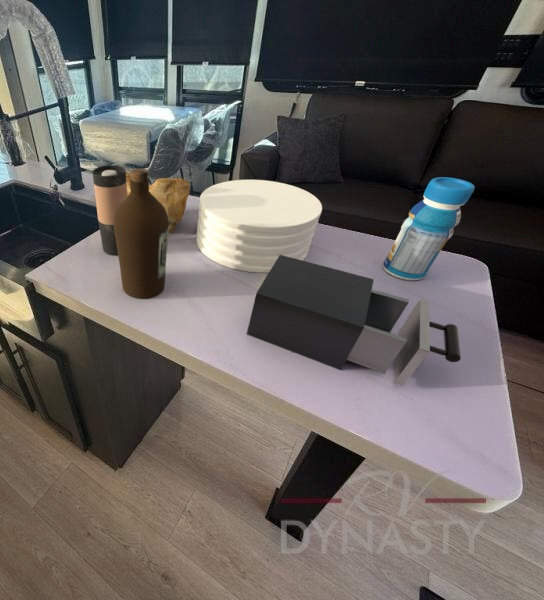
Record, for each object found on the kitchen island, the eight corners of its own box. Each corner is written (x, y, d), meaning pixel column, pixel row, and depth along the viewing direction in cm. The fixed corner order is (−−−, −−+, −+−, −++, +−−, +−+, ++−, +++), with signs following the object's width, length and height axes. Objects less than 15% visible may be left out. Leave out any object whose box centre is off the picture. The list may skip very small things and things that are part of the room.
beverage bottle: (396, 283, 71) (448, 192, 58) (373, 261, 77) (415, 176, 64) (434, 280, 71) (494, 190, 58) (408, 259, 77) (457, 174, 65)
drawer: (435, 344, 56) (463, 310, 51) (437, 399, 48) (470, 364, 43) (317, 307, 64) (330, 274, 59) (302, 348, 56) (316, 314, 51)
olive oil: (115, 299, 69) (102, 181, 54) (124, 271, 78) (115, 161, 62) (165, 302, 68) (167, 182, 52) (169, 273, 76) (171, 162, 60)
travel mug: (136, 245, 87) (132, 168, 74) (120, 259, 82) (112, 178, 69) (113, 238, 90) (105, 163, 77) (96, 251, 85) (84, 173, 72)
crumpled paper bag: (208, 224, 96) (214, 171, 88) (176, 243, 85) (179, 185, 77) (146, 208, 108) (146, 160, 100) (111, 223, 97) (108, 170, 89)
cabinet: (352, 320, 62) (373, 279, 56) (340, 370, 54) (364, 327, 47) (269, 294, 69) (279, 254, 63) (246, 334, 60) (256, 292, 54)
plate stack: (332, 263, 77) (350, 218, 70) (220, 280, 73) (226, 234, 66) (272, 213, 99) (281, 175, 91) (183, 225, 95) (185, 185, 87)
